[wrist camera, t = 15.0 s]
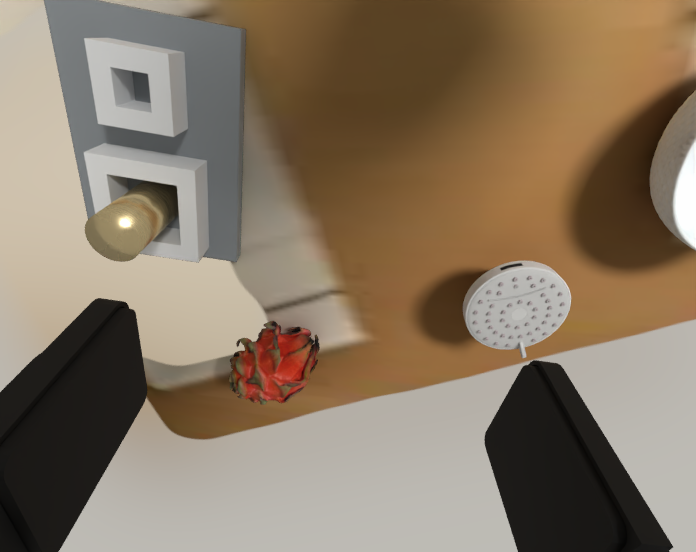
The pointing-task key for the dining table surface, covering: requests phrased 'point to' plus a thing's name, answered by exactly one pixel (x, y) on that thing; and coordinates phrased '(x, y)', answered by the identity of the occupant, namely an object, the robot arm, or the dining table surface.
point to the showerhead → (516, 305)
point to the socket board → (156, 116)
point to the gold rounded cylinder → (132, 220)
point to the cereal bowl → (677, 174)
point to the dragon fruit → (273, 364)
